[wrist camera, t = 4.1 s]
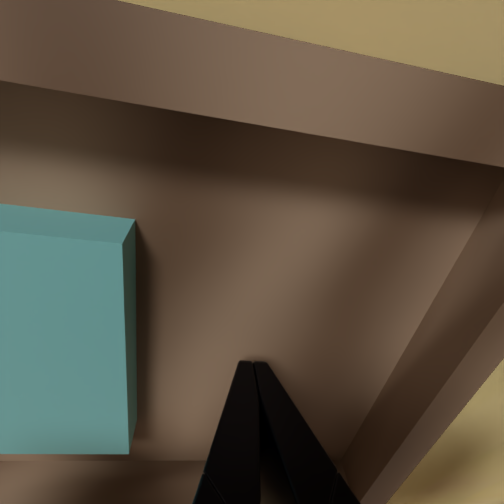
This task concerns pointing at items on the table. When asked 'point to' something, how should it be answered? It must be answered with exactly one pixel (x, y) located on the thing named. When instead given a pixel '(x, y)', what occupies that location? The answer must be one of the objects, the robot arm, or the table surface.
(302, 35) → the table surface
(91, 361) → the cover plate
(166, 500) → the brown flat tray
